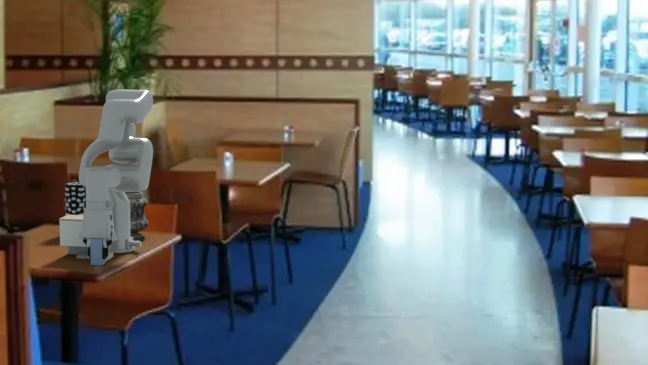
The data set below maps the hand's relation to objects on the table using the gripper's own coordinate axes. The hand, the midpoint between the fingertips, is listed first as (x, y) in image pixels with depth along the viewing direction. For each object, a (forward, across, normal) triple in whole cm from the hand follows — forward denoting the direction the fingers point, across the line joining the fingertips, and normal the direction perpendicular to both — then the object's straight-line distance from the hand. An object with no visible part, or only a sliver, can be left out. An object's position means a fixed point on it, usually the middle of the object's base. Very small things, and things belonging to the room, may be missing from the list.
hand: (98, 257), depth 336 cm
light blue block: (+2, 0, -5) cm, 5 cm away
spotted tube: (+2, +27, -48) cm, 55 cm away
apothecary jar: (+2, +3, -45) cm, 45 cm away
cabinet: (+2, +10, -10) cm, 14 cm away
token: (+3, +8, -9) cm, 12 cm away
